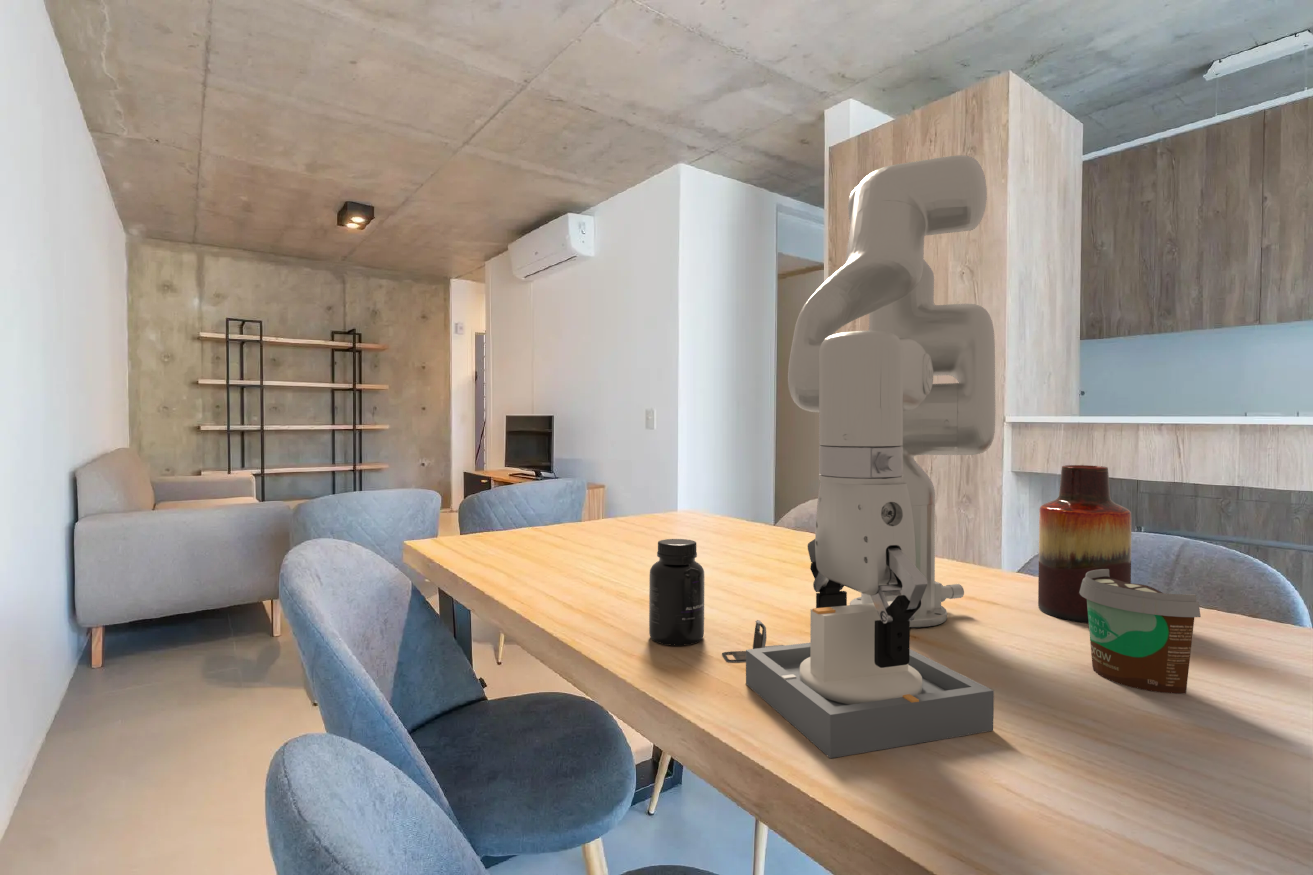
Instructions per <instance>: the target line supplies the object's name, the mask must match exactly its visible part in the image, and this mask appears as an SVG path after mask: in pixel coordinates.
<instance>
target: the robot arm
mask: <svg viewBox="0 0 1313 875" xmlns="http://www.w3.org/2000/svg"><path fill="white" fill-rule="evenodd" d="M987 189H988V188H987V182H986V177H985V173H984V170H983V167H982V165H981V164H980V163H979V161H978V160H977V159H976V158H974V157H972V156H969V155H964V154H963V155H962V154H961V155H959V154H958V155H948V156H942V157H935V158H930V159H923V160H918V161H917V160H916V161H911V162H903V163H897V164H893V165H892V164H891V165H887V166H884V167H880V168H877V169H875V170H874V171H872V172H870V173H869V174H866V176H865V177H863V179H862V180H861V181H860V182H859V184H858V185H857V186H855V187H854V189H853V190H851V192H850V195H849V197H848V202H847V203H848V204H847V210H848V212H847V213H848V219H849V224H850V226H849V232H848V241H847V247H846V254H845V255H846V256H845V264H843V266H841V267H839V269H837V270H836V271H835V272H834V273H832V275H830V276H829V277H828V278H826V280H825V281H824V282H823V283H822V284H821V285H820V286H819V287H818V288H817V289H816V290H815V291H814V293H812V294H811V296H810V297H809V298H808V299H807V300H806V302H805V303H804V304H803V306H802V308H801V310H800V312H799V314H798V317H797V319H796V323H795V324H794V329H793V330H794V331H793V335H792V336H793V337H792V342H791V348H790V354H789V360H788V369H787V372H788V373H787V387H788V391H789V395H790V397H791V399H792V401H793V403H794V404H795V405H796V406H798V408H800V409H802V410H803V411H807V412H811V413H818V415H819V416H818V445H819V446H818V481H819V488H818V495H817V505H816V517H815V518H816V520H815V537H814V539H812V540H811V541H810V542H808V543H807V551H808V556H809V560H810V567H809V569H810V571H811V574H812V575H813V576H812V577H813V579H814V580H813V584H812V586H813V590H814V591H815V592H816V593H815V608H824V607H836V606H847V605H848V603H847V602H848V600H847V598H848V592H847V591H846V590H843V588H844V587H847V588H849V589H851V590H853V591H856V592H858V593H860V596H858V597H855V598H853V599H852V600H851V601H850V602H849V605H857V604H868V603H874V605H875V608H876V610H877V613H878V615H879V617H880V620H876V621H875V640H874V661H875V665H877V666H878V667H880V668H885V667H893V666H900V665H907V664H908V663H909V660H910V649H911V648H910V647H911V646H910V644H911V643H910V639H911V638H910V636H911V635H910V633H911V632H910V631H911V629H910V628H926V627H934V626H937V625H941V624H943V623H945V622H946V620H947V619H948V611H947V609H946V608H945V606H943V605H942V603H943V602H945V601H946V600H947V599H950V600H953V599H954V600H955V599H961V598H963V597H964V595H965V590H964V586H962V584H960V583H954V584H947V585H943V584H942V583H941V582H938V581H935V579H936V578H935V577H936V575H935V574H936V570H935V569H936V567H935V566H936V565H935V564H936V490H935V486H934V483H933V481H932V480H931V478H930V476H929V475H928V474H927V472H926V471H925V470H924V469H923V468H922V467H921V466H920V465H919V464H918V463H917V461H916V460H915V458H914V457H916V456H925V455H926V456H973V455H974V456H976V455H980V454H982V453H985V452H986V451H987V450H989V449H990V448H991V446H992V444H993V442H994V436H995V432H996V346H995V345H996V340H995V330H994V324H993V320H992V317H991V315H990V313H989V312H988V311H987V309H986V308H984V306H982V305H978V304H975V303H974V304H973V303H950V304H935V302H934V301H935V300H934V298H935V297H934V296H935V294H934V293H935V273H934V272H933V270H932V268H931V266H930V265H929V264H928V262H927V261H926V259H924V258H925V257H924V254H925V236H932V235H942V234H951V233H960V232H969V231H973V230H975V229H976V228H977V227H978V226H979V225H980V223H981V222H982V220H983V217H984V215H985V211H986V207H987V206H986V205H987V198H988V197H987V193H988V192H987V191H988V190H987ZM867 315H868V330H853V331H852V330H851V331H844V332H843V331H842V332H838V333H836V332H837V331H839V329H841V328H843V327H844V326H846V325H848V324H850V323H851V322H853V321H855V320H857V319H860V318H862V317H864V316H867ZM935 376H936V377H937V376H940V377H941V376H950V377H953V378H954V379H956V381H957V382H950V383H947V382H946V383H934V377H935ZM888 601H893V602H892V603H891V604H890V606H889V605H888Z"/></svg>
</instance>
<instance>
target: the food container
mask: <svg viewBox="0 0 1313 875" xmlns="http://www.w3.org/2000/svg"><path fill="white" fill-rule="evenodd" d="M1079 593H1080V595H1081V596H1082V597H1084V598H1086V599H1087V608H1088V620H1089V623H1088V629H1089V630H1088V631H1089V644H1090V653H1091V656H1090V657H1091V665H1092V670H1093V671H1094V672H1095V673H1096V674H1097V675H1098V676H1099V677H1102V678H1103V679H1106V680H1108V681H1110V682H1113V683H1116V684H1119V685H1122V686H1124V687H1129V688H1133V689H1137V690H1138V689H1139V690H1144V691H1147V692H1148V691H1149V692H1154V693H1163V694H1175V695H1177V694H1187V690H1188V689H1187V688H1188V680H1189V671H1190V669H1189V668H1190V660H1191V652H1192V642H1193V636H1194V634H1193V633H1194V627H1195V626H1194V625H1195V624H1194V623H1195V618H1202V617H1201V611H1200V609H1201V608H1200V604H1199V601H1197V594H1192V593H1191V594H1180V593H1178V594H1177V593H1164V592H1163V591H1160V590H1158V589H1156V588H1154V587H1152V586H1150V585H1145V584H1141V583H1140V584H1139V583H1132V582H1131V583H1126V582H1123V581H1119V580H1116V579H1113V578H1110V576H1109V569H1100V570H1093V571H1089V572H1087V573H1086V576H1085V578H1083V580H1082V584H1081V588H1080V592H1079Z"/></svg>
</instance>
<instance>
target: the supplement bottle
mask: <svg viewBox="0 0 1313 875" xmlns="http://www.w3.org/2000/svg"><path fill="white" fill-rule="evenodd" d="M656 556H657V557H658V561H656V562H655V563H654V564H652V566H651V568H650V569H649V578H648V579H649V581H648V582H649V587H648V588H649V589H648V591H649V601H648V602H649V603H648V604H649V605H648V609H649V610H648V616H649V617H648V620H649V621H648V626H649V627H648V631H649V633H648V635H649V637H650V638H651V640H653V641H654V642H656V643H658V644H661V645H667V646H674V647H675V646H679V647H680V646H681V647H682V646H689V645H694V644H697V643H699V642H700V641H701V640H702V639H703V638H704V635H705V634H704V633H705V569H704V568H703V566H702V565H701V564H700V563H699V562H697V561H696V558H697V557H698V552H697V541H696V540H691V539H687V538H686V539H684V538H668V539H667V538H665V539H661V540H658V542H657V552H656Z"/></svg>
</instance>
